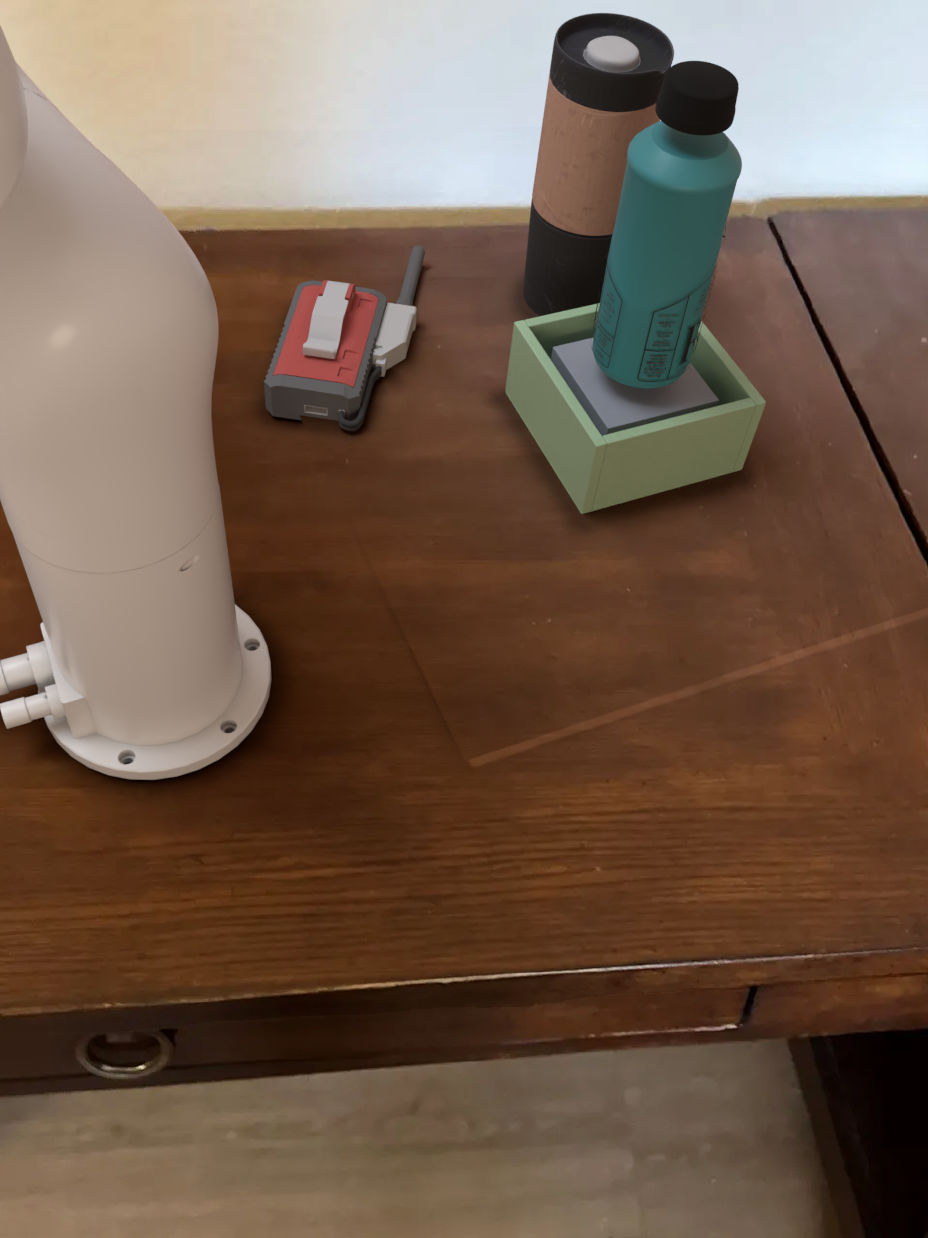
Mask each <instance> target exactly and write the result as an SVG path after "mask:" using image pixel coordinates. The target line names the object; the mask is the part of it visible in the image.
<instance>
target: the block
mask: <svg viewBox="0 0 928 1238" xmlns="http://www.w3.org/2000/svg"><path fill="white" fill-rule="evenodd" d="M593 339H594V338H590V339H585V340H581V341H577V342H572V343H568V344H564V345H559V346H555V347H553V349H552V355H551V361H552V362H553V364H554V365H555V367H556V368H557V370H558V371H559V373H560V374H561V376H562V377H563V379H564V380H565V382H566V383H567V385H568V386H569V388H570V389H571V391H572V392H573V394H574V395H575V397H576V398H577V400H578V401H579V403H580V404H581V406H582V407H583V409H584V410H585V412H586V413H587V415H588V416H589V418H590V419H591V421H592V422H593V424H594V425H595V427H596V428H597V430H598V431H599V433H600V434H601V436H603V435H607V434H611V433H615V432H618V431H622V430H626V429H630V428H634V427H638V426H642V425H646V424H649V423H653V422H657V421H661V420H665V419H669V418H673V417H677V416H681V415H684V414H688V413H692V412H696V411H700V410H704V409H708V408H712V407H716V406H717V405H718V402H719V399H718V398H717V397H716V396H715V394H714V393H713V392H712V390H711V389H710V388H709V386H708V385H707V384H706V382H705V381H704V380H703V379H702V377H701V376H700V375H699V373H698V372H697V371H696V369H695V368H694V367H693V365H692V364H691V363H689V365H688V367H689V366H690V367H689V368H688V367H687V369H686V371H685V372H684V373H683V375H682V376H681V377H680V378H679V379H678V380H676V381H675V382H673V383H671V384H669V385H666V386H663V387H658V388H637V387H632V386H628V385H625V384H622V383H620V382H617V381H615V380H614V379H612V378H610V377H609V376H608V375H606V374H605V373H604V372H603V371H602V370H601V369H600V367H599V366H598V364H597V363H596V360H595V358H594V353H593V351H592V348H593ZM591 346H592V348H591Z"/></svg>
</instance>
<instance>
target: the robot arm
mask: <svg viewBox="0 0 928 1238" xmlns="http://www.w3.org/2000/svg"><path fill="white" fill-rule="evenodd" d="M219 325H220V324H219V317H218V308H217V303H216V299H215V295H214V292H213V289H212V286H211V284H210V281H209V279H208V276H207V275H206V272H205V270H204V269H203V266H202V264H201V263H200V261H199V259H198V257H197V256H196V254H195V253H194V251H193V250H192V248H191V247H190V245H189V243H188V242H187V241H186V239H185V238H184V236H183V235H182V234H181V233H180V231H179V230H178V228H176V226H174V224H173V223H172V222H171V221H170V219H169V218H168V217H167V216H166V215H165V213H163V212H162V210H161V209H160V208H159V207H158V205H156V203H154V202H153V200H152V199H151V198H149V196H148V195H147V194H146V193H145V192H144V191H142V189H141V188H140V187H139V186H138V185H137V184H136V182H134V181H133V180H132V179H131V178H130V177H129V176H128V175H127V174H126V173H125V172H124V171H123V170H122V169H121V168H120V167H119V166H118V165H117V164H116V163H115V162H114V161H113V160H112V159H111V158H110V157H108V156H107V155H106V154H104V152H102V151H101V150H100V149H99V148H97V147H96V146H95V145H94V144H93V143H92V142H91V141H90V139H88V138H87V137H86V136H85V135H84V134H83V133H82V132H81V131H80V130H79V129H78V128H77V127H76V126H75V125H74V124H73V123H72V121H70V119H68V118H67V116H66V115H64V113H62V111H60V110H59V108H58V107H57V106H56V105H55V104H54V103H53V102H52V100H50V99H49V97H48V96H47V95H46V94H45V93H44V92H43V91H42V90H41V88H40V87H39V86H38V85H37V84H36V83H35V81H33V80H32V79H31V77H30V76H29V75H28V74H27V73H26V71H24V70H23V68H22V67H21V66H20V65H19V63H18V62H17V61H16V60H15V57H14V54H13V51H12V50H11V47H10V44H9V42H8V40H7V37H6V35H5V32H4V30H3V28H2V26H1V25H0V503H1V506H2V510H3V513H4V515H5V518H6V521H7V525H8V526H9V528H10V530H11V533H12V535H13V538H14V542H15V544H16V548H17V551H18V554H19V557H20V559H21V562H22V565H23V568H24V571H25V574H26V576H27V580H28V582H29V585H30V588H31V591H32V594H33V597H34V600H35V603H36V606H37V609H38V611H39V614H40V617H41V620H42V622H41V623H40V624H39V626H40V630H41V634H42V638H43V641H39V642H37V643H32V644H29V645H26V646H25V649H26V652H25V653H22V654H18V655H14V656H11V657H7V658H3V659H0V697H1V696H5V695H8V694H10V693H11V692H12V691H16V690H20V689H23V688H27V687H30V686H34V685H36V686H37V694H34V695H30V696H26V697H25V696H22V697H18V698H14V699H12V700H7V701H4V702H1V703H0V713H1V718H2V720H3V723H4V726H5V728H6V729H7V730H9V729H12V728H16V727H19V726H23V725H26V724H29V723H32V721H34V720H38V719H42V718H44V722H45V724H46V727H47V728H48V730H49V732H50V733H51V735H52V736H53V739H54V740H55V742H56V743H57V744H58V745H59V746H60V747H61V748H62V749H63V750H64V751H65V752H66V753H67V754H68V755H69V756H70V757H71V758H73V759H74V760H76V761H77V762H78V763H80V764H82V765H84V766H85V767H86V768H88V769H91V770H93V771H96V772H99V773H100V774H101V773H102V774H104V775H107V776H110V777H114V778H115V777H116V778H120V779H125V780H135V781H136V780H142V781H143V780H144V781H145V780H146V781H157V780H163V779H168V778H169V779H170V778H175V777H179V776H183V775H186V774H190V773H192V772H193V773H194V772H196V771H199V770H201V769H203V768H205V767H207V766H210V765H211V764H213V763H214V762H217V761H219V760H220V759H222V758H223V757H225V756H226V755H228V754H229V753H230V752H231V751H233V750H234V749H235V748H237V747H238V746H239V745H240V744H241V743H242V742H243V741H244V740H245V739H246V738H247V737H248V736H249V734H251V732H252V731H253V730H254V728H255V726H256V725H257V723H258V722H259V720H260V719H261V718H262V716H263V714H264V711H265V709H266V706H267V703H268V701H269V698H270V692H271V686H272V664H271V663H272V662H271V657H270V652H269V648H268V644H267V641H266V640H265V637H264V635H263V633H262V632H261V629H260V628H259V627H258V625H257V624H256V623H255V622H254V620H253V619H252V618H251V617H250V615H249V614H248V613H246V612H245V611H244V610H243V609H242V608H241V607H239V606H238V605H237V604H236V602H235V596H234V589H233V580H232V573H231V566H230V557H229V550H228V542H227V541H228V540H227V535H226V533H227V532H226V528H225V526H226V525H225V519H224V512H223V511H224V510H223V503H222V497H221V496H222V495H221V489H220V483H219V478H218V471H217V470H218V469H217V462H216V455H215V454H216V453H215V445H214V435H213V419H212V399H213V398H212V396H213V385H214V378H215V371H216V364H217V363H216V362H217V357H218V356H217V355H218V348H219V347H218V346H219V329H220V328H219V327H220V326H219Z"/></svg>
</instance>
